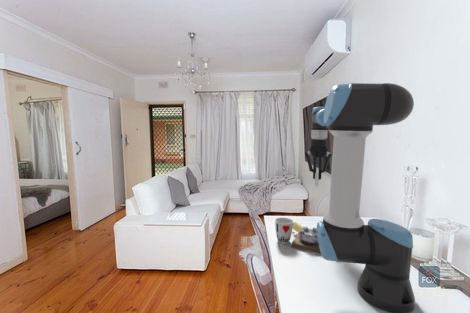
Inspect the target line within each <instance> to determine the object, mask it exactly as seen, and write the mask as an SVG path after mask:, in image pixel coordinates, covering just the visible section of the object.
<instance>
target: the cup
mask: <svg viewBox="0 0 470 313" xmlns="http://www.w3.org/2000/svg"><path fill="white" fill-rule="evenodd" d="M274 222H275V223H274V224H275V225H274V226H275V234H276V238H277V242H278V243H279V244H283V245H286V244H288V243H289V242H290V240H291V239H292V238H291V237H292V234H293V233H292V231H293V229H292V227H293V222H294V220H293V219H291V218H287V217H277V218H275V221H274Z"/></svg>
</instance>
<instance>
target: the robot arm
mask: <svg viewBox="0 0 470 313" xmlns="http://www.w3.org/2000/svg"><path fill="white" fill-rule="evenodd" d="M414 105H415V102H414V98H413V95H412V93H411V92H410V91H409V90H408V89H406V88H405V87H403V86H402V85H399V84H397V83H391V82H389V83H387V82H386V83H385V82H384V83H363V82H362V83H358V82H357V83H355V82H354V83H353V82H352V83H351V82H350V83H342V84H341V83H340V84H336V85H334V86H333V87H332V88H331V89H330V91H329V92H328V95H327V97H326V101H325V103H324V106H315V107H313V108H312V112H311V130H310V131H311V133H310V134H311V136H310V137H311V140H310V149H309V150H308V151H305V153H304V155H305V156H306V160H307V165H308V169H309V172H311V173H312V179H313V180H314V187H319V185H320V181H321V179H322V174H323V173H325V172H326V170H327V167H328V165H329V162H330V159H332V160H331V171H330V172H331V173H330V174H331V175H330V188H329V202H328V211H327V212H326V213H325V214H323V216H322V221H321V220H319V221H318V222H317V223H316V228H317V237H318V243H319V248H320V252H321V254H320V255H321V256H322V258H323V259H324V260H325V261H329V262H336V263H346V264H347V263H350V264H358V265H359V264H360V265H365V266H364V269H363V270H362V273H361V274H360V276H359V278H358V280H357V292H358V293H359V295H360V296H361V298H363V300H365V301H366V302H367V303H369V304H371V305H372V306H373V307H376V308H378V309H380V310H384V311H387V312H390V313H410V312H412V311H413V310H414V309H415V304H416V298H415V293H414V290H413V287H412V284H411V281H410V279H411V278H410V275H411V267H412V255H413V254H412V253H413V249H414V243H413V242H414V240H413V233H411V231H410V230H409V229H408V228H406V227H404V226H402V225H400V224H398V223H394V222H392V221H389V220H386V219H379V218H372V219H369V220H368V222H367V224H365V221H364V220H363V219H362V218H361V217H360V208H361V207H360V206H361V197H362V196H361V195H362V183H363V175H364V174H363V173H364V163H365V150H366V139H367V137H368V136H369V135H370V134H372V133H373V131H374V130H373V128H374V126H388V125H395V124H397V123H401V122H402V121H404V120H406V119H407V118H408V117H409V116H410V115H411V114H412V112H413V110H414ZM328 132H329V133H330V134H331V135H332V136H333V142H332V143H333V144H332V153H331V152H329V151H328V148H327V147H328ZM311 155H312V157H311ZM324 156H326V159H325V160H324V161H325V162H324V164H323V158H324ZM331 157H332V158H331ZM311 158H313V163H312V159H311ZM317 168H318V171H317Z"/></svg>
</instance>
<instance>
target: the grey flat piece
mask: <svg viewBox="0 0 470 313" xmlns="http://www.w3.org/2000/svg"><path fill="white" fill-rule="evenodd" d="M292 230H293V231H294V232H297V234H298V233H299V240H300V241H301V242H302V243H304V244H307V245H312V246H318V245H319V243H318V237H317V227H312V228H309V227H308V226H303V225H301V224H299V223H298V222H296V221H293V227H292Z"/></svg>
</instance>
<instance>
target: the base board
mask: <svg viewBox="0 0 470 313" xmlns="http://www.w3.org/2000/svg"><path fill="white" fill-rule="evenodd" d="M291 248H292V249H298V250H301V251H306V252H311V253H315V254H319V255H321V252H320V248H319V245H318V246H312V245H307V244H304V243H302V242H301V241H300V240H299V233H298V232H297V234H296V236H295V237H294V239H293V240H292V242H291Z"/></svg>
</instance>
